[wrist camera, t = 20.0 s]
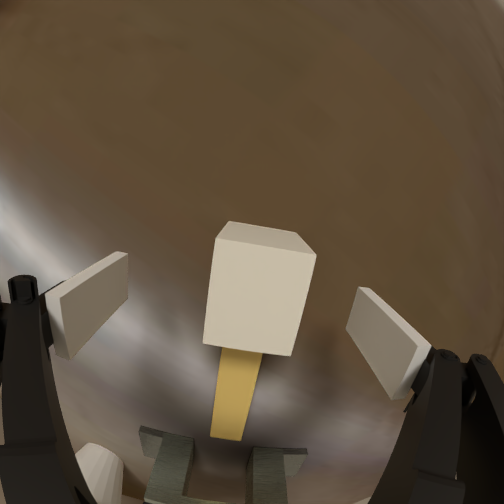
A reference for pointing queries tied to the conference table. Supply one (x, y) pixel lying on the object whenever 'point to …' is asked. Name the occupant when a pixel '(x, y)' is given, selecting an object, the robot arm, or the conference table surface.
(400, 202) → the conference table surface
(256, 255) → the plug
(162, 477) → the housing
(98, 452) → the cup
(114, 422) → the conference table surface
